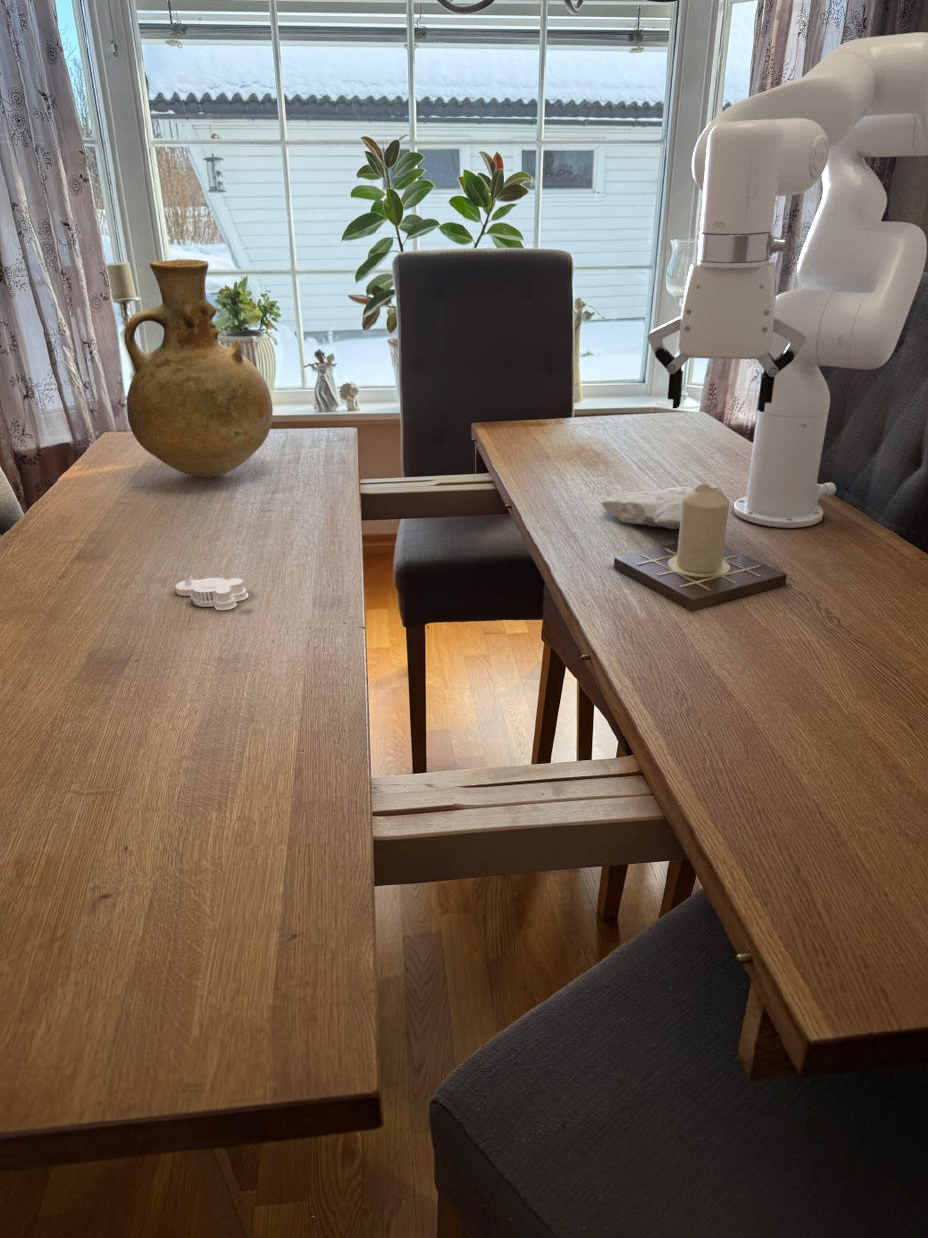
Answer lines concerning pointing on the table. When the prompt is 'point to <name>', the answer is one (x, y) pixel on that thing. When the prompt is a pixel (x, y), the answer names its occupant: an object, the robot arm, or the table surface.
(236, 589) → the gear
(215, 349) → the vase
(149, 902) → the table surface
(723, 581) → the board
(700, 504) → the candle
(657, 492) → the rock
